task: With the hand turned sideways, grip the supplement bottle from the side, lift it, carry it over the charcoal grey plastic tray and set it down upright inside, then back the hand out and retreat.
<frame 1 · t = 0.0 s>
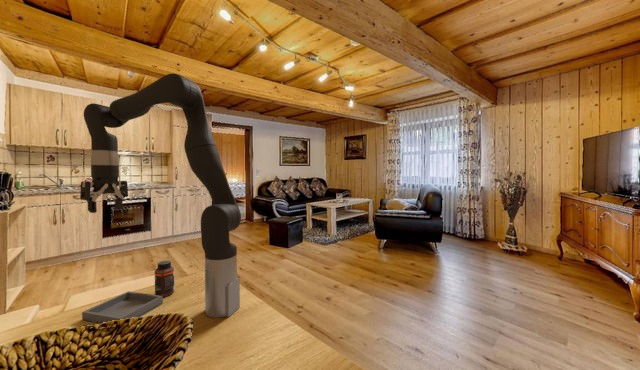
hand: (106, 211, 91), 29 cm above the table, tool pointing down, fingers open, 8 cm apart
supplement bottle: (164, 294, 92), on the table
tray: (125, 311, 80), on the table
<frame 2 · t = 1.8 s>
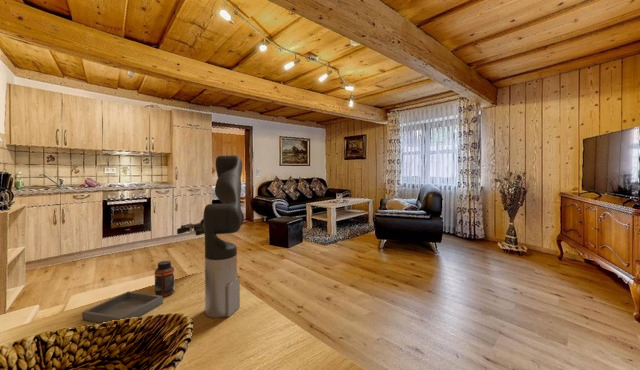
hand: (187, 232, 102), 20 cm above the table, tool horizontal, fingers open, 8 cm apart
nothing on the table moved.
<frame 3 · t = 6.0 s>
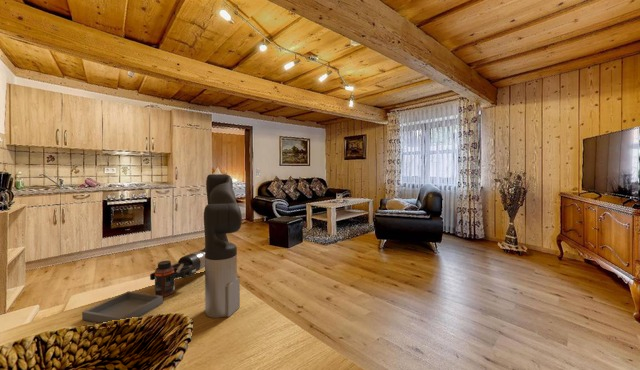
hand: (158, 278, 90), 7 cm above the table, tool horizontal, fingers closed on supplement bottle, 6 cm apart
supplement bottle: (164, 294, 92), on the table, touching gripper
when the fingers open (8 cm above the table, at t = 10.9 s): supplement bottle drops 1 cm, resting on tray.
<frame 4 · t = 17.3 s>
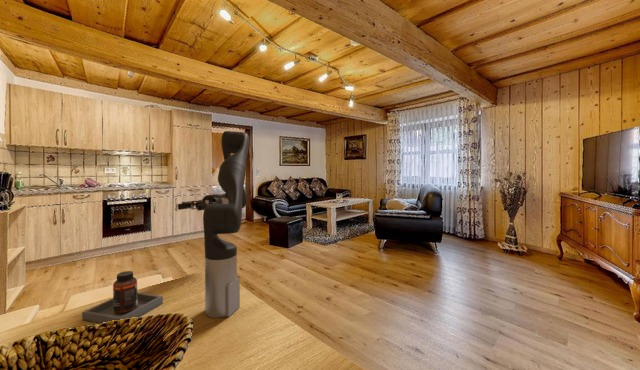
hand: (188, 207, 97), 30 cm above the table, tool horizontal, fingers open, 8 cm apart
supplement bottle: (125, 310, 80), resting on tray
at the end: supplement bottle inside the target area on the tray (0.2 cm from its centre), point 0.4 cm above the tray's base; supplement bottle tilted 0°; the gripper is holding nothing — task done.
